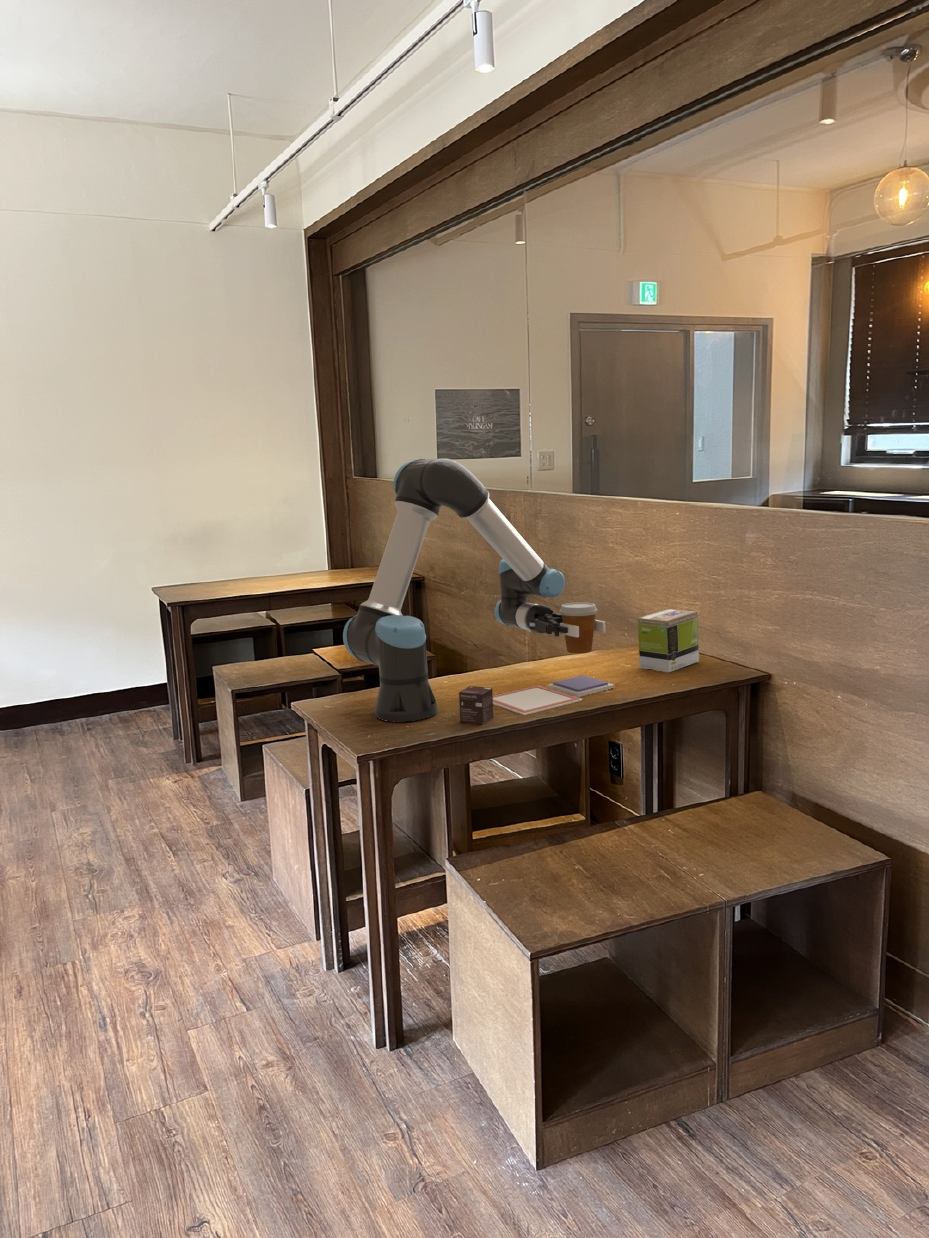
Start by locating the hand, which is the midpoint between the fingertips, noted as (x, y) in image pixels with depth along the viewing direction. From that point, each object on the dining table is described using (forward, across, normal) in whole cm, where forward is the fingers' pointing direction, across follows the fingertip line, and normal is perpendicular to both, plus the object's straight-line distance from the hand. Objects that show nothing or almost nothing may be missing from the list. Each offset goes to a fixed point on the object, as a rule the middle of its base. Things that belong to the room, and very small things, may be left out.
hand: (591, 629), depth 221 cm
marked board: (-5, +16, -16) cm, 23 cm away
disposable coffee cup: (-5, 0, -6) cm, 8 cm away
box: (-1, +35, -17) cm, 39 cm away
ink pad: (-5, 0, -16) cm, 17 cm away
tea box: (-6, -33, -16) cm, 37 cm away
